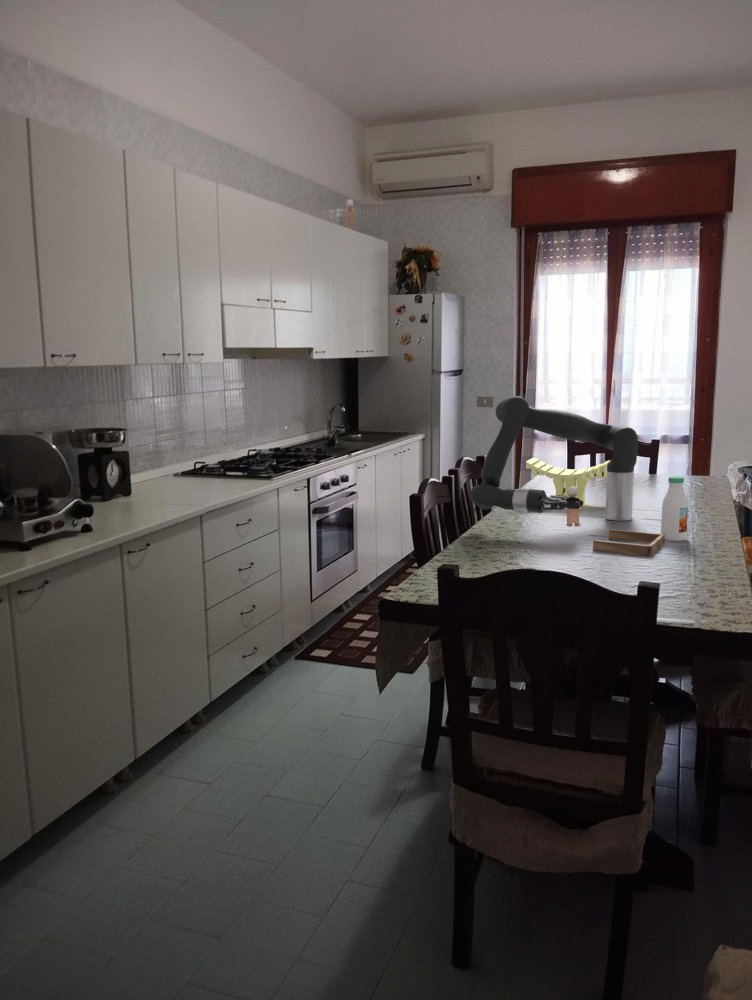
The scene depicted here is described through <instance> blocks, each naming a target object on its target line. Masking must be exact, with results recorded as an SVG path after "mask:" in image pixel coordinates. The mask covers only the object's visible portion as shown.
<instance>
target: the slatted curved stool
mask: <svg viewBox="0 0 752 1000" xmlns="http://www.w3.org/2000/svg"><path fill="white" fill-rule="evenodd" d="M610 461H611V459H609V460H607V461H606V460H605V462H604V463H603V462H602V463H600V464H597V465H594V466H590V467H587V468H579V469H570V468H567V469H566V468H563V467H562V468H561V467H558V466H554V465H552V464H547V462H544V461H542V460H541V461H540V459H539V458H536V457H531V458H529V459H528V460H526V461H525V469H527V470H531V476H532V477H536V476H538V475H539V476H545V477H548V478H549V479H552V483H553V484H554V485H553V486H554V488H555V494H554V495H555V496H557V495H561V496H566V497H570V496H569V495H568V494H567V490H568V489H569V488H570V487H572V486H573V487H576V488H577V490H578V492H577V495H576V497H575V498H578V499H580V500H583V505H584V507H585V506H586V505H587V500H586V490H587V487H588V484H589V481H591V480H592V479H594V478H597V479H598V478H600V479H601V478H603V479H605V480H607V464H608V463H609V462H610ZM579 510H582V508H581V507H580V508H579Z"/></svg>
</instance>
